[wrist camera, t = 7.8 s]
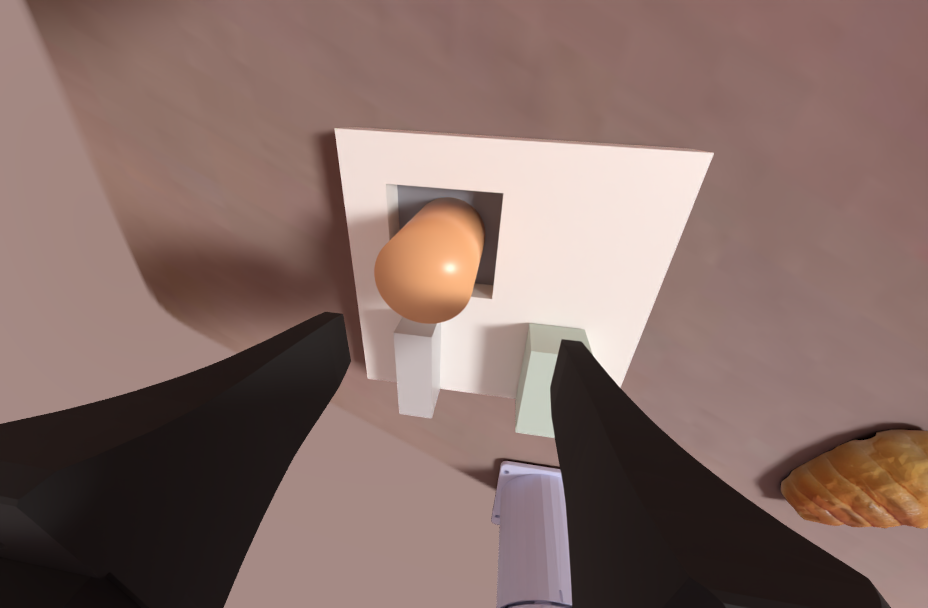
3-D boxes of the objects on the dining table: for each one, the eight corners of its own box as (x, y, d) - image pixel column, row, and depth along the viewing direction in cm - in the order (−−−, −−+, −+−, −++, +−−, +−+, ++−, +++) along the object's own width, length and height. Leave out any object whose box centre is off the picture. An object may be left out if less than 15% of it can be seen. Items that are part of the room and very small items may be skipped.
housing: (603, 389, 22) (621, 446, 19) (378, 359, 24) (351, 406, 20) (691, 148, 15) (752, 160, 11) (353, 127, 16) (303, 130, 12)
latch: (562, 406, 21) (567, 439, 19) (515, 400, 21) (515, 432, 19) (584, 329, 18) (594, 359, 16) (529, 323, 18) (531, 351, 16)
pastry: (802, 509, 26) (843, 566, 23) (754, 467, 25) (790, 521, 21) (959, 463, 22) (1037, 524, 18) (912, 408, 20) (988, 464, 17)
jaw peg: (481, 271, 19) (469, 329, 14) (414, 263, 19) (377, 317, 14) (489, 201, 17) (477, 238, 12) (413, 193, 17) (370, 226, 12)
